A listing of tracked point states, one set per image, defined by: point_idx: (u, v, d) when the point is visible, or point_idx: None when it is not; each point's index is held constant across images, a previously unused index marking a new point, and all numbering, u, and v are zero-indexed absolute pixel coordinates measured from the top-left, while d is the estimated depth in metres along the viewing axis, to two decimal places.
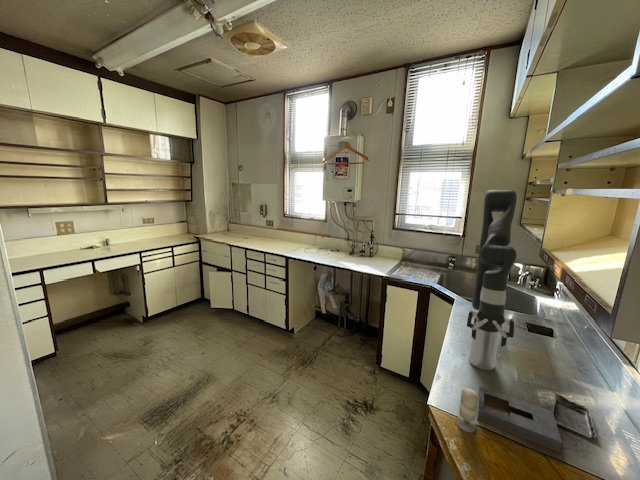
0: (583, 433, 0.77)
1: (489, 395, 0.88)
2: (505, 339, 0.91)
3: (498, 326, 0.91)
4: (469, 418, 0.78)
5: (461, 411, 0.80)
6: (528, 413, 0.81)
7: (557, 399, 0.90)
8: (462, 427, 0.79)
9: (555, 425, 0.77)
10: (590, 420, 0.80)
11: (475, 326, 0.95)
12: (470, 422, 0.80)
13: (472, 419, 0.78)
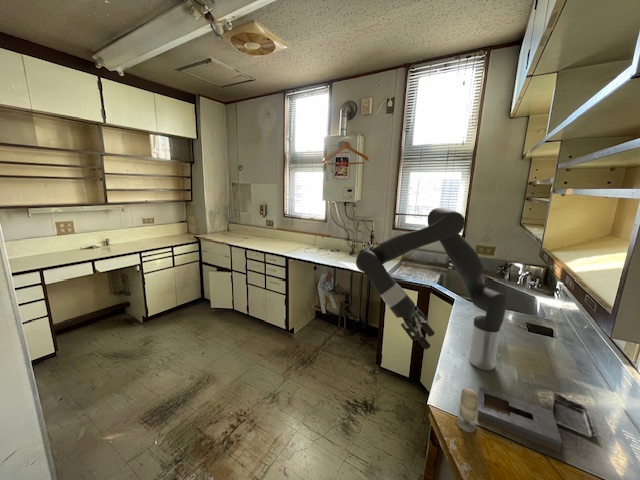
0: (583, 432, 0.77)
1: (489, 395, 0.88)
2: None
3: None
4: (469, 418, 0.78)
5: (461, 411, 0.80)
6: (528, 413, 0.81)
7: (555, 398, 0.90)
8: (462, 427, 0.79)
9: (555, 425, 0.77)
10: (589, 419, 0.81)
11: None
12: (470, 422, 0.80)
13: (472, 419, 0.78)
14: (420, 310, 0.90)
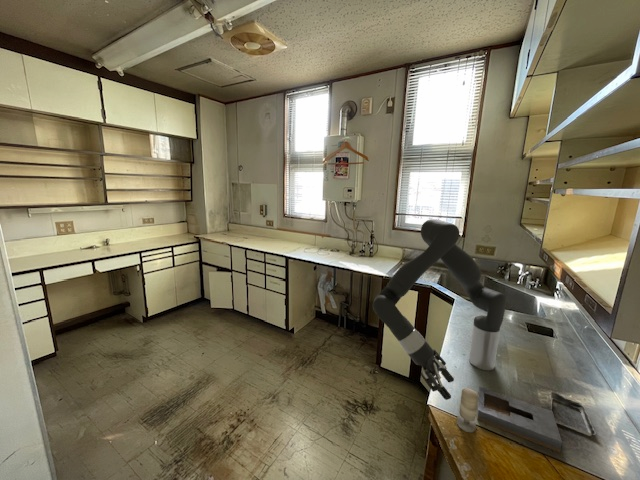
0: (583, 431, 0.78)
1: (489, 395, 0.88)
2: None
3: None
4: (469, 418, 0.78)
5: (461, 411, 0.80)
6: (528, 413, 0.81)
7: (553, 397, 0.91)
8: (462, 427, 0.79)
9: (555, 425, 0.77)
10: (587, 417, 0.81)
11: None
12: (470, 422, 0.80)
13: (472, 419, 0.78)
14: (438, 354, 0.89)
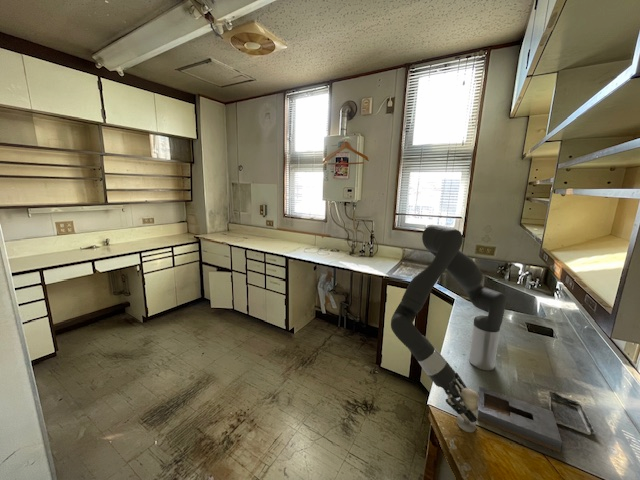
0: (582, 430, 0.78)
1: (489, 395, 0.88)
2: None
3: None
4: None
5: None
6: (528, 413, 0.81)
7: (551, 396, 0.91)
8: (462, 427, 0.79)
9: (555, 425, 0.77)
10: (585, 416, 0.82)
11: None
12: (470, 422, 0.80)
13: None
14: (461, 379, 0.85)
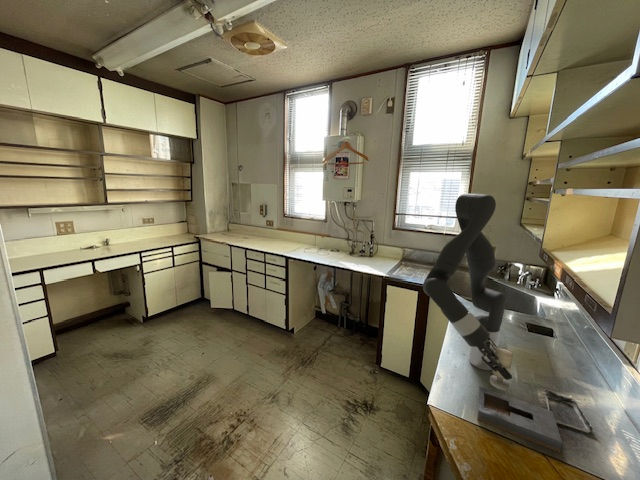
0: (582, 429, 0.78)
1: (489, 395, 0.88)
2: None
3: None
4: None
5: None
6: (528, 413, 0.81)
7: (546, 394, 0.92)
8: (496, 385, 0.81)
9: (555, 425, 0.77)
10: (582, 413, 0.83)
11: None
12: (503, 381, 0.82)
13: None
14: (493, 341, 0.87)
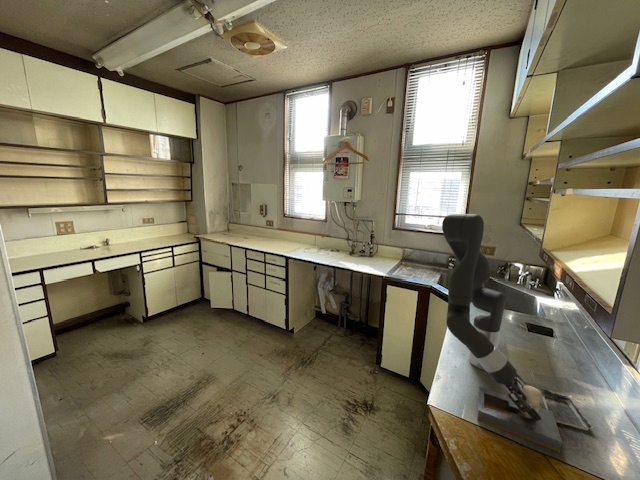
0: (581, 427, 0.79)
1: (489, 395, 0.88)
2: None
3: None
4: None
5: None
6: None
7: (542, 393, 0.93)
8: None
9: (555, 425, 0.77)
10: (578, 410, 0.84)
11: None
12: (531, 419, 0.80)
13: None
14: None
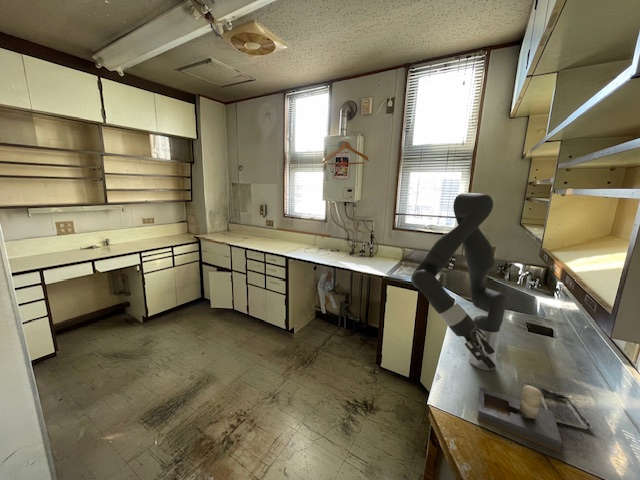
0: (580, 426, 0.79)
1: (489, 395, 0.88)
2: None
3: None
4: (532, 415, 0.78)
5: (523, 408, 0.79)
6: None
7: None
8: None
9: (555, 425, 0.77)
10: (576, 409, 0.84)
11: None
12: (531, 419, 0.80)
13: (535, 416, 0.78)
14: (477, 327, 0.90)
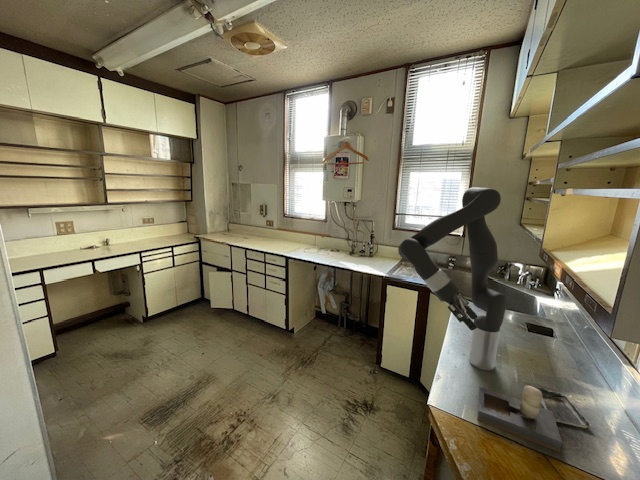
0: (579, 425, 0.80)
1: (489, 395, 0.88)
2: None
3: None
4: (532, 415, 0.78)
5: (523, 408, 0.79)
6: None
7: None
8: None
9: (555, 425, 0.77)
10: (575, 408, 0.85)
11: None
12: (531, 419, 0.80)
13: (535, 416, 0.78)
14: (461, 295, 0.94)
